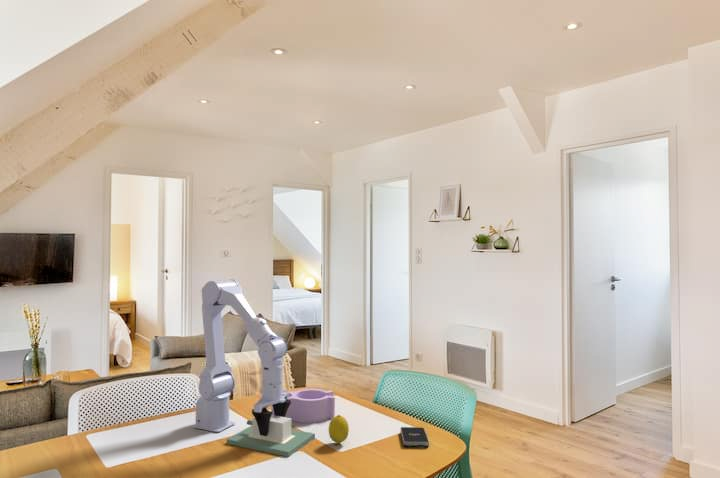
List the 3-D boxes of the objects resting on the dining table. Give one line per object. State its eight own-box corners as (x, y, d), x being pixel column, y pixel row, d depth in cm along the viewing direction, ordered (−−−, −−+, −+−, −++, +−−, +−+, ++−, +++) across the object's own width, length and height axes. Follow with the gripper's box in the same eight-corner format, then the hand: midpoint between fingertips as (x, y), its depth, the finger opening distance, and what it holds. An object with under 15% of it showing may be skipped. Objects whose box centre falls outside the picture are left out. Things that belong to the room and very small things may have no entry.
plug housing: (243, 434, 139) (243, 416, 139) (252, 428, 143) (252, 411, 143) (282, 441, 134) (282, 423, 134) (291, 436, 138) (291, 418, 138)
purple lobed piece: (270, 424, 151) (270, 401, 151) (272, 410, 163) (272, 389, 163) (335, 422, 154) (335, 399, 154) (332, 409, 166) (332, 388, 166)
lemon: (346, 449, 133) (346, 419, 133) (326, 447, 134) (326, 417, 134) (350, 441, 138) (350, 412, 138) (331, 439, 139) (331, 411, 139)
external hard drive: (403, 449, 134) (403, 441, 134) (400, 433, 145) (400, 426, 145) (429, 449, 134) (429, 442, 134) (423, 434, 145) (423, 427, 145)
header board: (226, 443, 135) (226, 430, 135) (256, 426, 148) (256, 414, 148) (288, 456, 127) (288, 442, 127) (314, 437, 140) (315, 424, 140)
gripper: (269, 390, 130) (268, 442, 129) (298, 377, 143) (297, 424, 143) (247, 387, 133) (246, 437, 132) (277, 374, 146) (276, 420, 146)
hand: (271, 430), depth 138 cm, fingers open, 7 cm apart
